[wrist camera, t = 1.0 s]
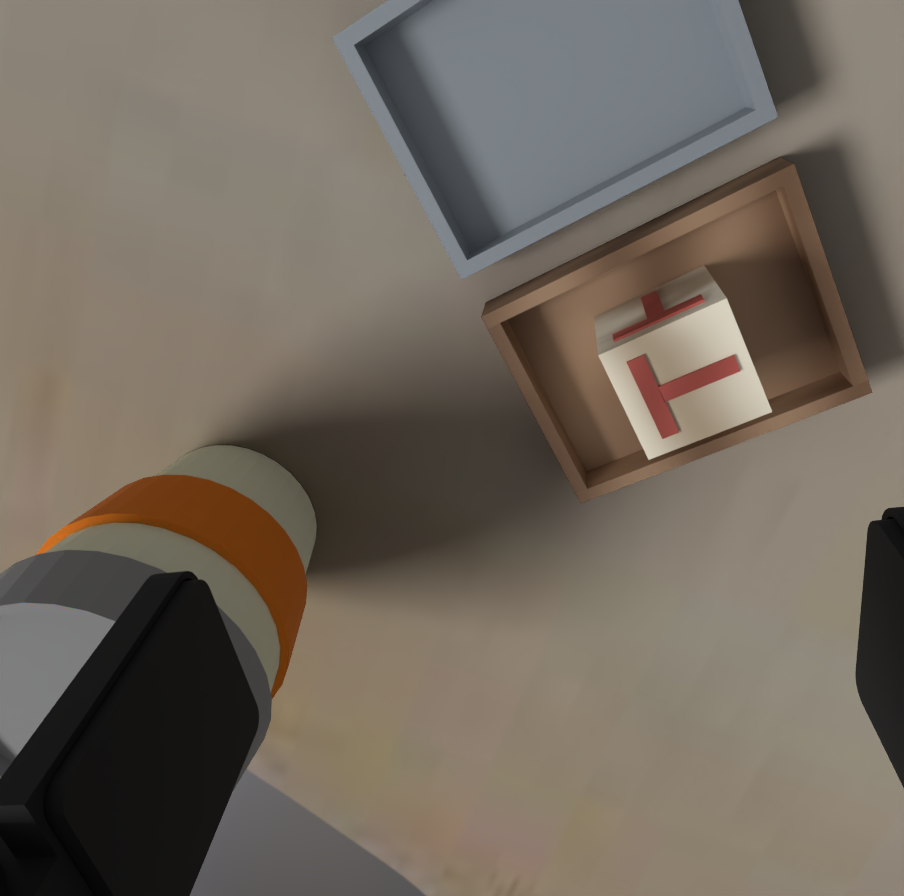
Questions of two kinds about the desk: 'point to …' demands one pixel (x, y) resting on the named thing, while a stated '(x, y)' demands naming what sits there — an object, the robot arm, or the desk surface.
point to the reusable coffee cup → (152, 552)
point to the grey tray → (549, 105)
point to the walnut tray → (653, 264)
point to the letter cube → (679, 363)
